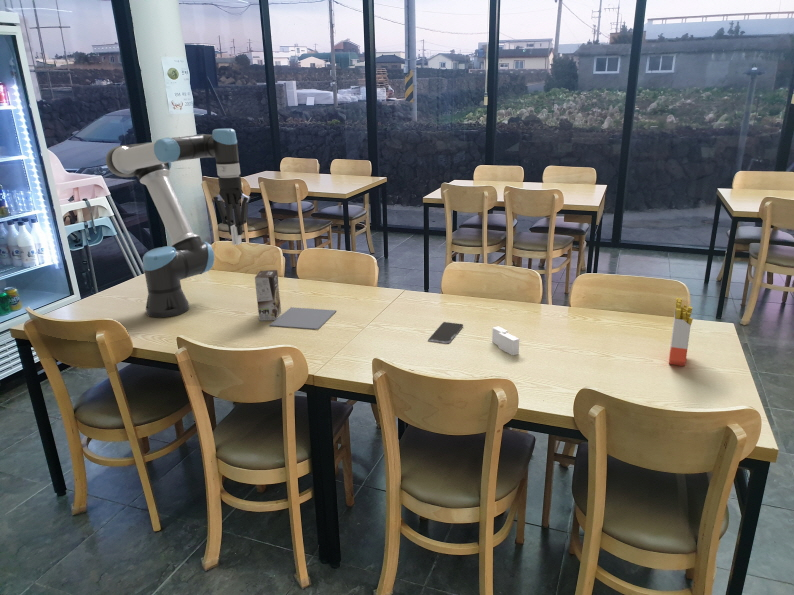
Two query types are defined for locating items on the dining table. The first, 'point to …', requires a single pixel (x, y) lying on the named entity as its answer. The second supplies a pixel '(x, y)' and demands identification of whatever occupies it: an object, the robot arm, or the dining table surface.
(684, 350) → the french fries container
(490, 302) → the dining table surface
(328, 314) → the rubber mat
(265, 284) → the coffee box
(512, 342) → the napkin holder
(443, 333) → the smartphone
